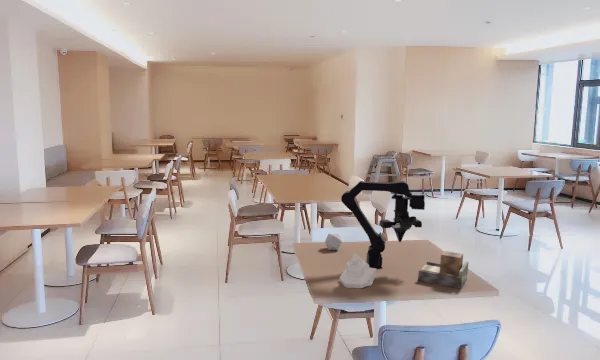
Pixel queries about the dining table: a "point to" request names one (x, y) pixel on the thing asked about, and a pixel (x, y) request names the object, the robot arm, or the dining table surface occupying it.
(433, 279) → the trap box
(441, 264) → the walnut block
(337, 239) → the die
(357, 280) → the white faceted rock
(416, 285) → the dining table surface
